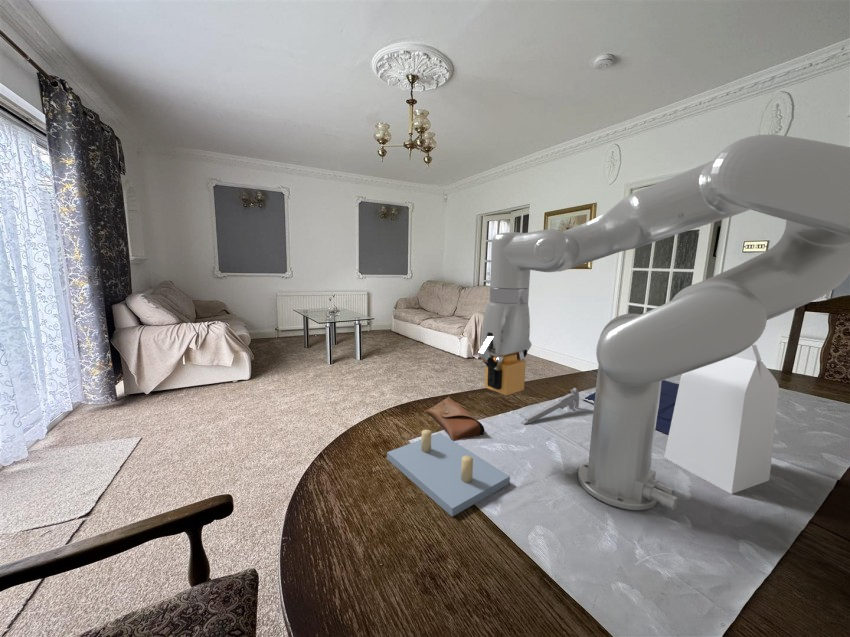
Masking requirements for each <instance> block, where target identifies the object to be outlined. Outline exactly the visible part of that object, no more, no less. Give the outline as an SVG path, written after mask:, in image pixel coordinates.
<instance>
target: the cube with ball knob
mask: <svg viewBox="0 0 850 637" xmlns="http://www.w3.org/2000/svg"><path fill="white" fill-rule="evenodd" d="M496 359H497V357H496V356H494V361H495V362H496ZM500 370H502V384H501V389H499V390H497V389H495V388H492V387H490V386H488V384H487V383H488V368H487V367H486V366H485V378H484V388H486V389H488V390H491V391H493V392H497V393H499V394H502V395H504V396H508V395H511V394H514V393H518V392H521V391H524V390H525V378H526V360H525V361H523V360H519V359H517V353H513V354H509V355H504V356H503V359H502V363H501V367H500Z"/></svg>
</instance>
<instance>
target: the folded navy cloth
mask: <svg viewBox="0 0 850 637" xmlns="http://www.w3.org/2000/svg"><path fill="white" fill-rule="evenodd" d="M679 384H680V383H676V382H672V381H669V380H668V381H667V379H666V380H663V381H661V391H660V400H659V408H658V414H657V421H656V429H655V431H656V430H657V431H658V432H661V433H664V434H666V435H668V436H669V431H670V426H671V422H672V417H673V412H674V407H675V403H676V398H677V393H678V388H679ZM595 393H596V391H595V392H593V393H591V394H589V395H587V396H586V397H584V398H585V399H588V400H593V401H595Z"/></svg>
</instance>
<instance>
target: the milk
mask: <svg viewBox="0 0 850 637" xmlns="http://www.w3.org/2000/svg"><path fill="white" fill-rule="evenodd" d="M758 349H759V348H758V346H757V344H756V343H754V344H753V345H751V346H750V347H749V348H747V349H746V350H744V351H742V352H740V353H738V354H736V355H734V356H732V357H730V358H727V359H724V360H721V361H719V362H716V363H713V364H710V365H707V366H704V367H701V368H698V369H695V370H693V371H690V372H687V373H684V374H681V376H680V379H679V383H678V384H679V388H678V393H677V398H676V403H675V407H674V412H673V417H672V422H671V426H670V431H669V435H668V437H667V442H666V446H665V452H664V456H663V458H664V457H665V458H667V459H668V460H667V459H666V460H667V461H669V460H670V461H669V462H671V461H672V462H673V463H672V462H671V463H672V464H674V463H675V465H676V464H677V465H676V466H678V465H679V466H678V467H680V468H682V469H684V470H685V471H688V472H689V473H691V474H693V475H694V476H697V477H699V478H701V479H703V480H705V481H707V482H708V483H710V484H712V485H713V486H715V487H718V488H719V489H721V490H722V491H723V490H724V491H725V492H726V493H729V494H731V495H733V494H734V493H739V492H741V491H744V490H747V489H749V488H752V487H754V486H757V485H760V484H763V483H765V482H769V481H770V477H771V476H770V475H771V467H772V459H773V449H774V439H775V430H776V419H777V412H778V401H779V392H780V387H779V383H778V381H777V379H776V378H775V376H774V374H773V373H772V372H771V371H770V370H769V369H768V367H767V366H766V365H765V364H764V363H765V362H763V361H762V358H761V355H760V352H759V350H758ZM665 458H664V459H665Z"/></svg>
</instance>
